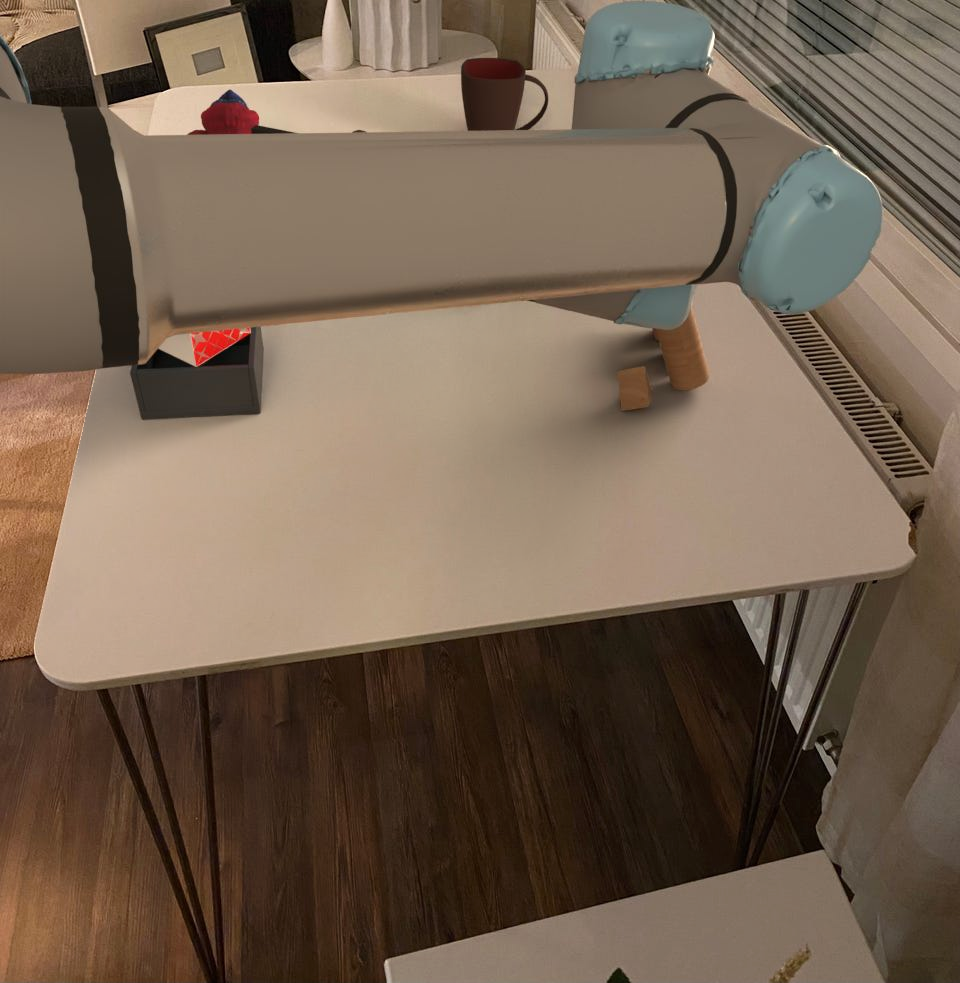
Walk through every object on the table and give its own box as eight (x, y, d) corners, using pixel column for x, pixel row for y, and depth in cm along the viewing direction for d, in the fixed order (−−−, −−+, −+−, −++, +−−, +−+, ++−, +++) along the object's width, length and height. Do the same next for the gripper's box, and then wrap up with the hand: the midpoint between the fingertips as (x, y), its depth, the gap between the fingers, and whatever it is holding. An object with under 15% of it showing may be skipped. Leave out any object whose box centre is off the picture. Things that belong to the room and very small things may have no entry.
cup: (458, 132, 160) (460, 56, 152) (541, 134, 161) (547, 58, 152) (460, 157, 152) (462, 79, 144) (547, 159, 153) (554, 81, 145)
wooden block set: (647, 343, 119) (626, 268, 114) (717, 330, 116) (699, 252, 111) (625, 424, 106) (600, 343, 101) (704, 412, 102) (682, 328, 97)
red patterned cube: (251, 332, 103) (241, 266, 98) (196, 367, 98) (183, 299, 93) (197, 308, 106) (185, 242, 101) (141, 340, 101) (126, 273, 96)
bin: (141, 420, 101) (129, 372, 97) (154, 353, 110) (144, 308, 106) (260, 413, 102) (253, 367, 98) (263, 349, 111) (257, 303, 107)
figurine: (299, 105, 140) (286, 83, 122) (306, 247, 144) (294, 246, 127) (189, 104, 138) (160, 82, 121) (199, 248, 143) (173, 246, 126)
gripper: (407, 374, 61) (118, 302, 65) (528, 209, 78) (293, 162, 83) (406, 267, 56) (93, 197, 60) (535, 117, 73) (285, 72, 78)
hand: (208, 177), depth 72 cm, fingers open, 13 cm apart
